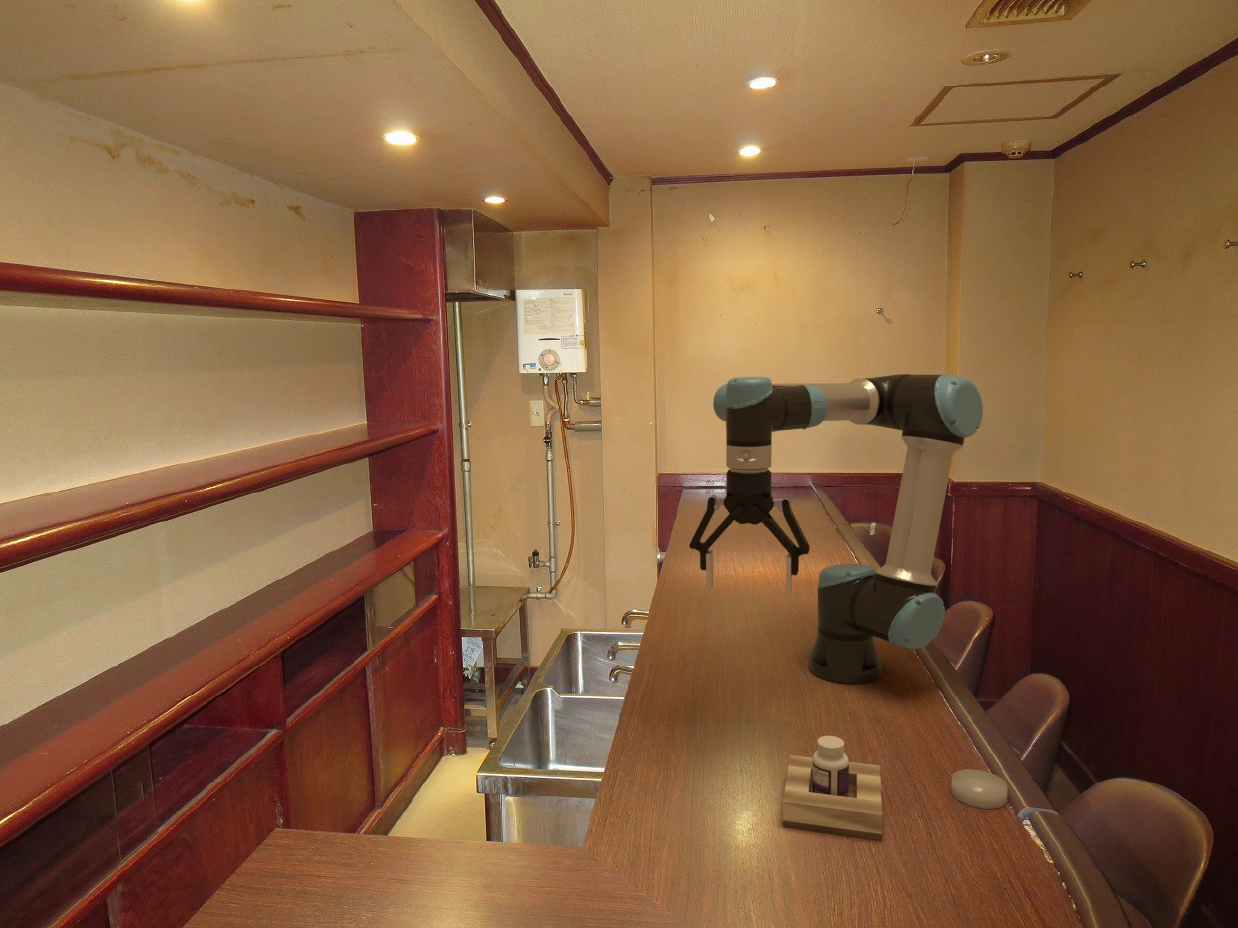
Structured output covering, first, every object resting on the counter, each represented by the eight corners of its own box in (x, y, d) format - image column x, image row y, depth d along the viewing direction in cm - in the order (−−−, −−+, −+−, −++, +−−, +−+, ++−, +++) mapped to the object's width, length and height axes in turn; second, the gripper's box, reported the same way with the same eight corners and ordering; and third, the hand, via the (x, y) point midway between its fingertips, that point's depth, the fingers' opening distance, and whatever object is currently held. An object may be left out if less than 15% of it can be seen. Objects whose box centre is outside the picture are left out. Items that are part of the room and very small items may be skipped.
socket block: (790, 777, 135) (790, 754, 134) (879, 788, 131) (879, 765, 130) (782, 826, 121) (782, 801, 121) (881, 840, 117) (882, 814, 117)
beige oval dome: (948, 777, 133) (949, 766, 133) (1002, 784, 131) (1002, 772, 131) (954, 804, 126) (954, 792, 125) (1011, 811, 123) (1011, 799, 123)
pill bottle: (843, 790, 128) (843, 732, 127) (852, 810, 123) (853, 749, 122) (808, 791, 129) (809, 733, 127) (816, 810, 123) (817, 750, 122)
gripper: (671, 471, 137) (673, 592, 141) (824, 474, 131) (822, 602, 134) (680, 464, 145) (682, 580, 148) (825, 467, 138) (824, 588, 141)
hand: (748, 590), depth 141 cm, fingers open, 13 cm apart
